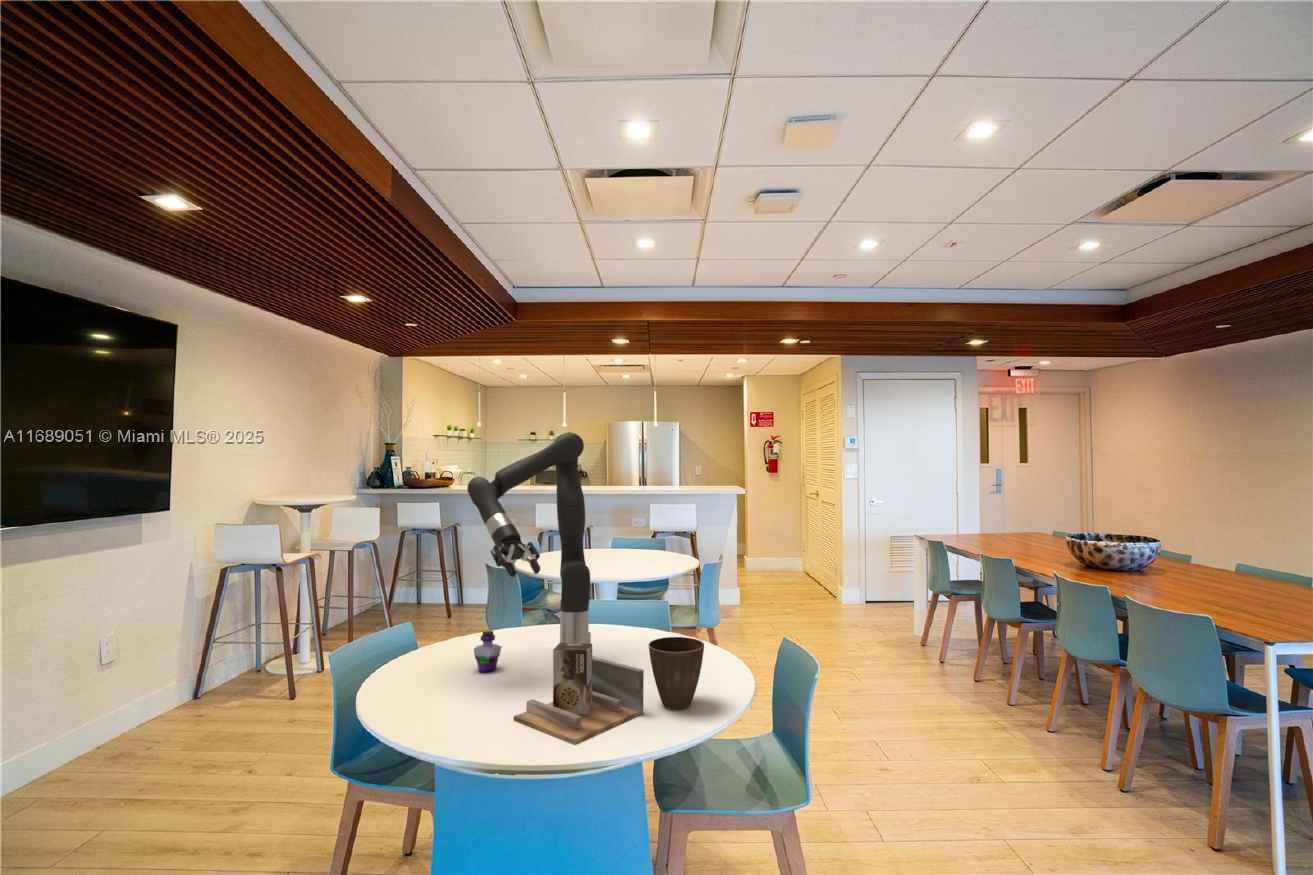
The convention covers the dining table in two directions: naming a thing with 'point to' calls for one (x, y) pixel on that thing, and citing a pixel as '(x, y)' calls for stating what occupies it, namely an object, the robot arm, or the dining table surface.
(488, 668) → the potion bottle
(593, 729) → the track board
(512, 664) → the dining table surface
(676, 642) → the plant pot
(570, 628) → the robot arm
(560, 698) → the coffee box
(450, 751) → the dining table surface
